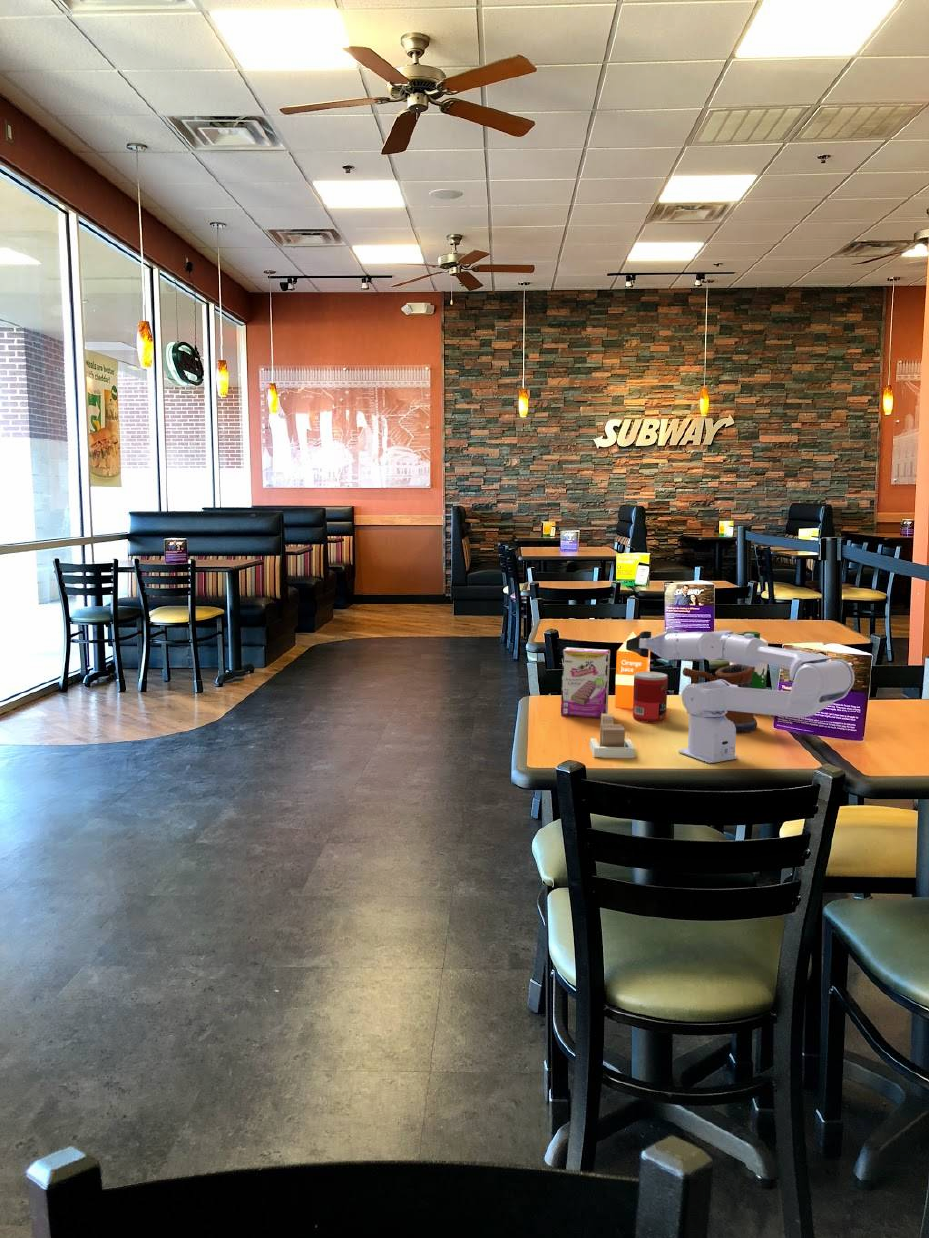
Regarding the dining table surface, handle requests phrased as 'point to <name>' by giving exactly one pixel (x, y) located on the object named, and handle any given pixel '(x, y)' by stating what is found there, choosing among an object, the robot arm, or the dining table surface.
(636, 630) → the orange juice
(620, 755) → the white u-shaped bracket
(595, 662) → the candy bar box
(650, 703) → the canned food
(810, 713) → the robot arm
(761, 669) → the milk carton
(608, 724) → the block
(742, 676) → the mug
